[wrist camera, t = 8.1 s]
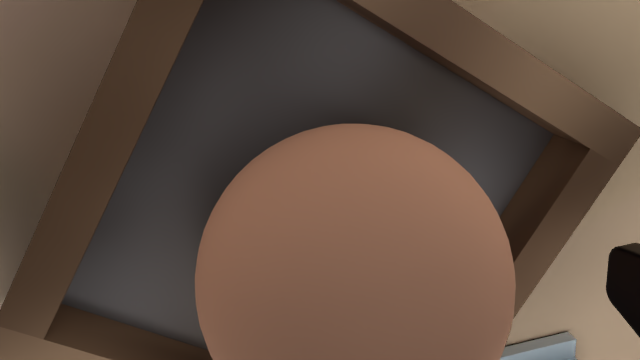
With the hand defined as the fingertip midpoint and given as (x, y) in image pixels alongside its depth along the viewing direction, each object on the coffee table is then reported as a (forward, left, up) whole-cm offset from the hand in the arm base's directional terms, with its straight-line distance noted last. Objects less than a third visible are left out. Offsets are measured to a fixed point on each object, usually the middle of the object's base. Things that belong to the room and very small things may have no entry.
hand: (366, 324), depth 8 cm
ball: (0, 0, -5) cm, 5 cm away
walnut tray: (0, 0, -5) cm, 5 cm away
